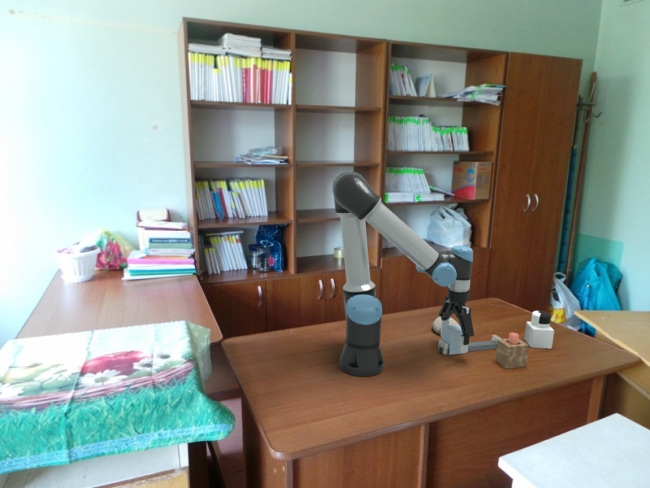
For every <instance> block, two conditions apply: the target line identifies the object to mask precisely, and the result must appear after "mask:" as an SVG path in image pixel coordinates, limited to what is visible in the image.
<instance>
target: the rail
mask: <svg viewBox="0 0 650 488" xmlns="http://www.w3.org/2000/svg"><path fill="white" fill-rule="evenodd" d="M500 339H502V338H501V337H500V336H498V335H497V334H492V335H491V340H486V341H473V342H469V345H468V352H467V353H469V352H478V351H488V350H497V343H498V340H500ZM437 347H438V348H437V351H438V352H440V353H441V354H442V355H449V349H448V344H447V343H446V342H445V341H444V340H443V339H439V340H438V346H437Z"/></svg>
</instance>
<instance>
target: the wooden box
mask: <svg viewBox="0 0 650 488" xmlns="http://www.w3.org/2000/svg"><path fill="white" fill-rule="evenodd" d="M508 342H509V338H501V339H500V340H498V343H497V349H496V353H495V362H497V363H498V364H499V365H500V366H502V367H503V368H504V369H506V370H507V369H514V368H515V369H517V368H524V367H525V368H526V367H527V364H528V357H529V356H528V354H529V348H530V346H529V344H528V343H527V342H526V341H523V340H522V339H520V338H519V339H518V345H511V344H509V343H508Z"/></svg>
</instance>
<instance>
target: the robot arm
mask: <svg viewBox="0 0 650 488" xmlns="http://www.w3.org/2000/svg"><path fill="white" fill-rule="evenodd" d="M332 193H333V202H334V211H335V214H336V215H337V216H338V217H339V219H340V229H341V240H342V249H343V258H344V259H343V260H344V268H345V271H344V272H345V280H346V283H345V284H344V285H343V286H342V293H343V305H344V313H345V314H344V315H345V343H344V346H343V348H342V352H341V353H340V356H339V368H340V369H341V370H342V371H343V372H345V373H347V374H350V375H352V376H358V377H372V376H376V375H378V374H380V373H382V372H383V371H384V370H385V369H384V368H385V359H384V354H383V351H382V349H381V334H382V333H381V332H382V331H381V329H382V316H383V308H382V307H383V305H382V303H381V301H380V299H378V298H377V292H376V291H377V289H376V284H375V283H374V281H372V280H371V271H370V261H369V250H368V249H369V248H368V237H367V226H366V223H368V225H370V226H371V227H372V228H374V229H375V230H376V231H377V232H378V233H379V234H381V235H382V236H383V237H384V238H385V240H387V241H389V242H390V243H391V244H392V245H393V246H394V247H395V248H396V249H398V250H399V252H401V253H402V254H404V256H406V257H407V258H408V259H409V260H410V261H411V262H413V263H414V264H415V269H416V271H417V272H418V273H422V274H426V275H427V276H428V277H429V278H431V279H432V281H433V283H435V284H437V285H438V286H440V287H448V288H447V294H446V296H444V301H443V303H442V306H441V308H440V310H439V313H438V317H441V320H442V327H441V336H440V338H443V330H444V326H446V325H449V320H448V319H450V317H451V316H452V315H453V314H454V315H455V317H456V318H457V319H458V322H459V323H458V324H459V325H460V326H461V330H462V333H463V335H461V343H460V353H463V354H466V353H469V352H468V345H469V343H470V337H474V336H475V331H474V327H473V326H474V325H473V321H472V314H471V313H472V308H471V307H466V303H467V302H469V299H470V289H471V288H470V287H471V279H472V268H473V262H474V250H473V249H472V248H471V247H470V246H467V245H453V246H452V247H451V249H450V251H436V250H435V248H433V247H432V246H431V245H430V244H428V242H426V241H425V240H424V239H423V238H422V237H421V236H420V235H418V234H417V233H416V232H415V231H414V230H413V229H412V228H411V227H410V226H409V225H407V224H406V223H405V221H403V220H401V218H399V217H398V216H397V215H396V214H395V213H394V212H392V210H390V209H389V208H388V207H387V206H386V205H385V204H383V202H382V197H380V195H379V194H377V192H375V191H374V190H373V189H372V187H371V186H370V185H369V183H368V181H367V180H366V179H365V178H364V177H363V175H361V174H360V173H358V172H355V171H345V172H342V173H340V174H339V175H337V176H336V178H335V179H334V180H333V184H332ZM465 332H466V333H465Z"/></svg>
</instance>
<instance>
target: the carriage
mask: <svg viewBox="0 0 650 488" xmlns="http://www.w3.org/2000/svg"><path fill="white" fill-rule="evenodd" d="M465 333H466V332H465ZM461 335H463V333H462V330H461V326H460V324H459V325H446V326H444V330H443V337H442V340H444V341H445V342H446V343H447V344H448V349H449V354H448V355H450V356H451V355H463V354H464V353H460V343H461Z"/></svg>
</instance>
